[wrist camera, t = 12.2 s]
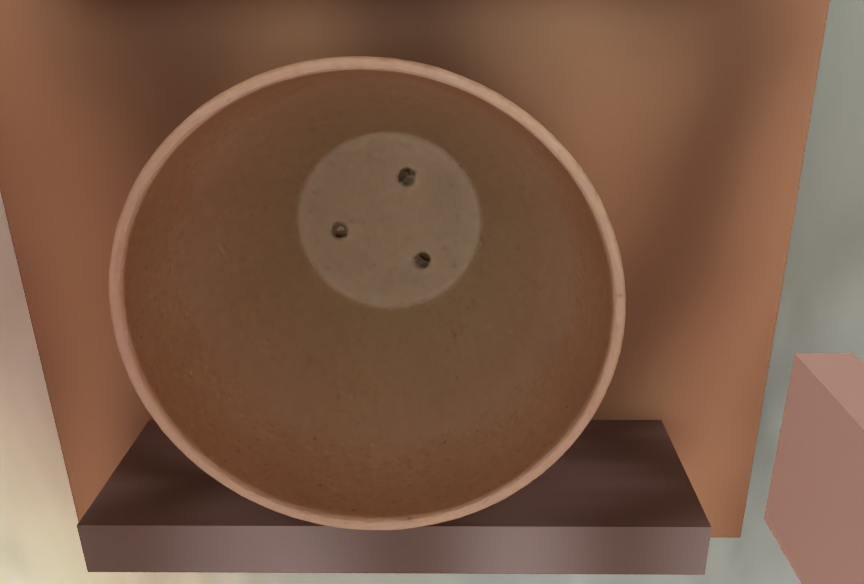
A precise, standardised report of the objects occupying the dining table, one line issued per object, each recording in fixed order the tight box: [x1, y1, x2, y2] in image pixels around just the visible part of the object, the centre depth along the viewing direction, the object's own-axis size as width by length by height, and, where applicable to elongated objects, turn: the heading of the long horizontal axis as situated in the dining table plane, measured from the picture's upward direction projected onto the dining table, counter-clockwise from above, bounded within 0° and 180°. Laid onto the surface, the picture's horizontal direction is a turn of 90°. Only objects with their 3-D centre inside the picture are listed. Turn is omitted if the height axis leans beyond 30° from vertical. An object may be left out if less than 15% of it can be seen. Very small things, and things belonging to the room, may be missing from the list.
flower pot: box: [109, 56, 626, 530], centre depth 18 cm, size 10×10×7 cm
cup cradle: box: [0, 0, 830, 575], centre depth 20 cm, size 22×22×6 cm
